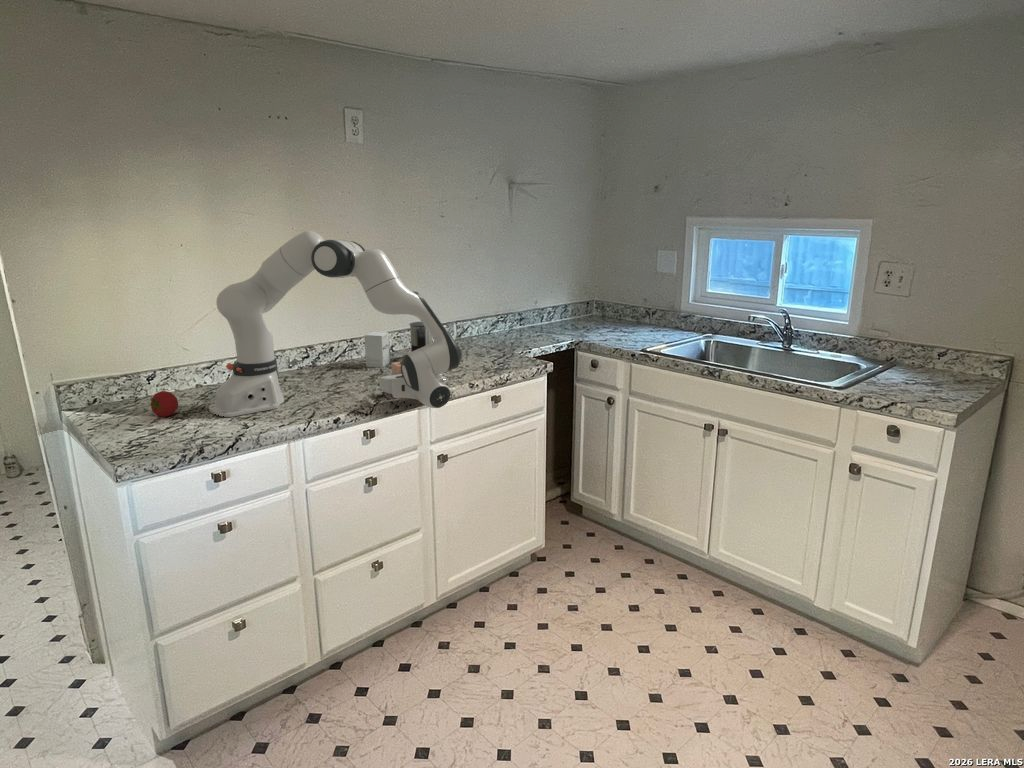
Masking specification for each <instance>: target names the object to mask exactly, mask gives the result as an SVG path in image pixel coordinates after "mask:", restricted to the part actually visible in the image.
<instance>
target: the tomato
mask: <svg viewBox="0 0 1024 768" xmlns="http://www.w3.org/2000/svg"><path fill="white" fill-rule="evenodd" d="M150 399H151V400H150V403H149V405H150V408H151V411H152V412H153V413H154V415H156V417H161V418H168V417H170V415H171V416H173V415H174V414H175V413H176V411H177V410H178V409H179V401H178V398H177V397H176V395H175V394H174V393H172V392H170V391H165V390H162V391H161V390H160V391H159V392H156V393H154V395H153V396H151V397H150ZM167 416H168V417H167Z"/></svg>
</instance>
